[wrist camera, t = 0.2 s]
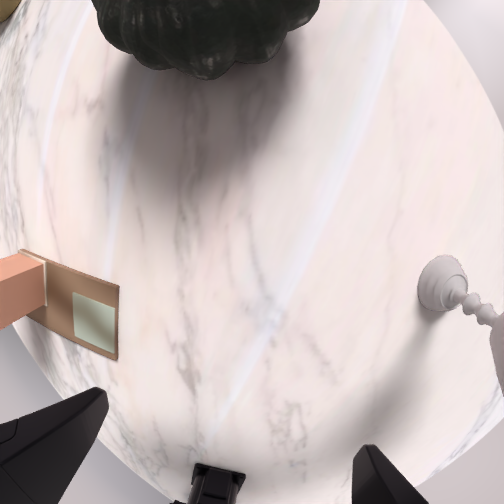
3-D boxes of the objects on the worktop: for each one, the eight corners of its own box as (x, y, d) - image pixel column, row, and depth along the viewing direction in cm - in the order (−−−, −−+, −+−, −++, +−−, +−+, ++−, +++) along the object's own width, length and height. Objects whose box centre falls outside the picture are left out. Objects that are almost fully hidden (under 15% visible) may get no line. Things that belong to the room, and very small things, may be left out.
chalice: (402, 325, 21) (513, 489, 4) (408, 246, 20) (595, 363, 2) (465, 313, 21) (585, 427, 3) (475, 242, 19) (635, 316, 2)
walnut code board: (118, 357, 25) (114, 361, 24) (27, 312, 25) (22, 314, 25) (119, 285, 23) (114, 288, 22) (22, 248, 24) (17, 250, 23)
